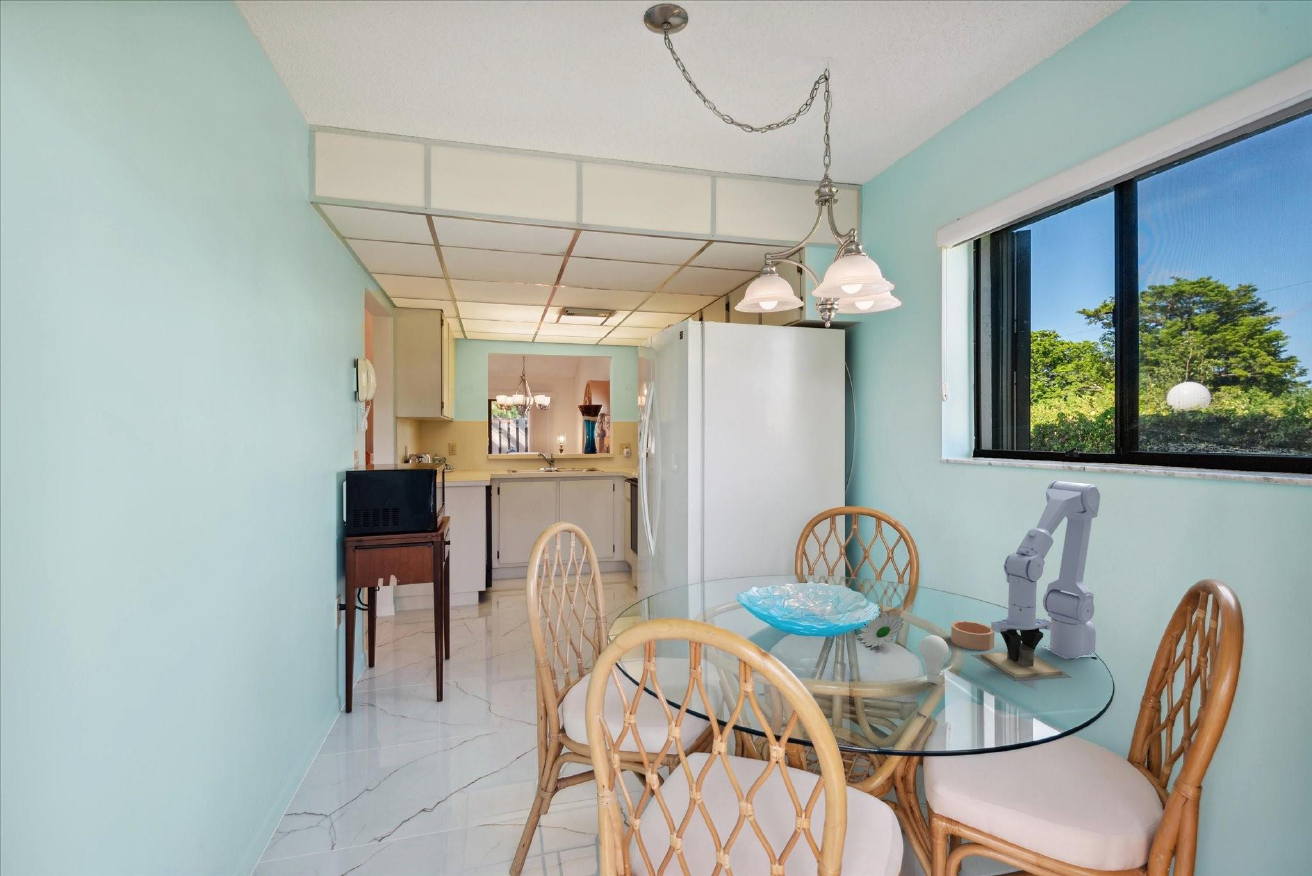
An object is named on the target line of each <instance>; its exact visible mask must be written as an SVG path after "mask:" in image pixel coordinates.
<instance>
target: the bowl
mask: <svg viewBox="0 0 1312 876" xmlns="http://www.w3.org/2000/svg"><path fill="white" fill-rule="evenodd" d="M950 641H951V643H953V644H955V645H956V646H957V647H962V648H964V649H968V650H974V651H975V650H976V651H989V650H991V649H993V648H995V631H993V630H991V626H988V625H987V624H983V623H979V622H975V621H969V620H968V621H967V620H960V621H959V620H958V621H957V620H956V621H953V622H952V623H950Z"/></svg>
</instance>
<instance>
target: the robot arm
mask: <svg viewBox="0 0 1312 876" xmlns="http://www.w3.org/2000/svg"><path fill="white" fill-rule="evenodd" d="M1045 499H1046V506H1045V508H1044V510H1043V512H1042V515H1041V517H1040V518H1039V520H1038V523H1037V525H1036V527H1035V528H1031V529H1029V530H1028V531H1027V533H1026V534H1025V536H1024V538H1023V539H1022V540H1021V543H1020V545H1019V546H1018V548H1017V549H1016V551H1015V552H1013V553H1011V554H1008V556H1006V557H1005V560H1004V564H1003V571H1004V573H1005V577H1006V583H1008V603H1007V606H1008V607H1007V616H1006V618H1005V619H1002V620H998V621H992V622H990V623H991V625H990V627H991V630H993V631H994V633H1000V635H1001V636H1002V638H1003V640H1004V643H1005V645H1006V649H1007V650H1008V654H1009V658H1010V659H1012V660H1013V661H1015V662H1016V661H1018V658H1019V648H1020V644H1021V643H1022V644H1024V645H1026V646H1028V647H1030V648H1032V649H1034V652H1035V651H1036V648H1037V647H1038V645H1039V643H1040V642H1041V640H1042V639H1043V638H1044V632H1042V631H1040V630H1048V631H1050V632H1049V646H1050V647H1047V646H1048V645H1041V648H1042V649H1044V650H1046V649H1050V650H1049V651H1048V652H1050V651H1051V652H1050V653H1052V654H1054V655H1057V656H1058V657H1060V658H1062V659H1064V660H1070V659H1069V658H1075V659H1077V658H1076V657H1079V656H1083V655H1089V654H1090V655H1091V654H1092V653H1094V654H1095V655H1096V641H1097V640H1096V637H1097V632H1096V627H1095V626H1094V624H1093V623H1092V621H1091V620H1092V618H1093V616H1094V615H1095V604H1094V597H1095V596H1094V595H1095V594H1094V593H1093V592H1092V591H1091V589H1089V588H1088V587H1087V586H1086V585H1085V584H1084V583H1083V582H1084V577H1085V570H1086V562H1087V556H1088V550H1089V542H1090V537H1091V529H1092V524H1093V523H1092V522H1093V519H1094V518H1097V517H1098V514H1099V513H1098V512H1099V509H1100V508H1099V507H1100V502H1101V493H1100V491H1099V489H1098V487H1097V486H1096V484H1094V483H1080V482H1072V481H1071V482H1070V481H1063V480H1062V481H1061V480H1057V479H1055V480H1052V481H1051V482H1050V483H1049V484H1048V486H1047V489H1046V492H1045ZM1065 518H1067V522H1066V529H1065V535H1064V540H1063V542H1064V543H1063V547H1062V548H1063V549H1062V555H1061V560H1060V561H1061V562H1060V568H1059V573H1058V574H1059V575H1058V579H1056V580H1054V581H1052V582H1049V583H1048V584H1047V587H1046V591H1045V593H1044V595H1043V597H1042V606H1043V609H1044V610H1045V612H1046V613H1047V616H1048V617H1049V618H1050V620H1048V619H1045V618H1043V619H1042V618H1041V619H1039V618H1038V619H1037V617H1036V616H1037V615H1036V612H1037V611H1036V610H1037V584H1038V582H1037V581H1039V580H1040V578H1042V575H1043V573H1044V566H1045V564H1046V563H1045V562H1046V561H1045V558H1046V556H1047V555H1048V553H1049V551H1050V549H1052V546H1053V544H1054V539H1053V537H1052V535H1053V534H1054V532H1055V531H1056V530H1057V528H1059V525H1060V524H1061V523H1062V522H1063V520H1064V519H1065ZM1018 631H1019V632H1018ZM1044 646H1046V647H1044ZM1090 651H1091V652H1092V653H1091V652H1090Z"/></svg>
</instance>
